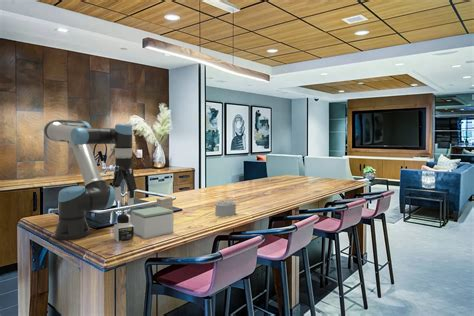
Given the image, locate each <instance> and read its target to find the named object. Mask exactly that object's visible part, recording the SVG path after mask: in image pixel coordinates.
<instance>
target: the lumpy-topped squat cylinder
mask: <svg viewBox="0 0 474 316" xmlns="http://www.w3.org/2000/svg"><path fill="white" fill-rule="evenodd" d="M236 205H237V204H236V203H235V202H234V201H233V200H228V199H226V200H222V199H221V200H219V201H218V202H216V203H215V211H214V212H215V217H218V216H219V217H220V218H224V217H225V218H227V217H226V216H229V217H233V216H232V215H234V216H236V215H235V214H237V212H236V209H237V208H236V207H237V206H236ZM219 217H218V218H219Z"/></svg>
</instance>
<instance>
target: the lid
mask: <svg viewBox="0 0 474 316" xmlns="http://www.w3.org/2000/svg"><path fill="white" fill-rule="evenodd" d="M131 213H134V214H136V215H139V216H142V217H150V216H155V215H161V214H167V213H173V214H174V210H170V209H166V208H163V207H157V206H155V207H147V208H141V209H134V210H131V212H130V214H131Z"/></svg>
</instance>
